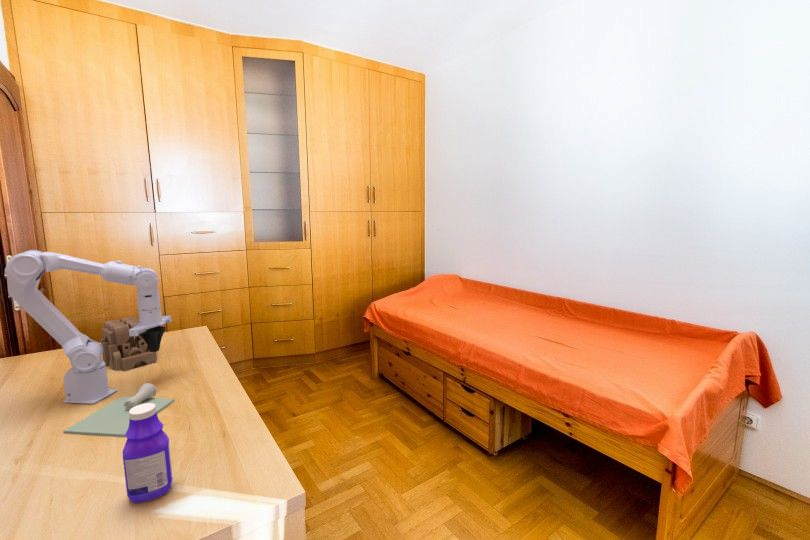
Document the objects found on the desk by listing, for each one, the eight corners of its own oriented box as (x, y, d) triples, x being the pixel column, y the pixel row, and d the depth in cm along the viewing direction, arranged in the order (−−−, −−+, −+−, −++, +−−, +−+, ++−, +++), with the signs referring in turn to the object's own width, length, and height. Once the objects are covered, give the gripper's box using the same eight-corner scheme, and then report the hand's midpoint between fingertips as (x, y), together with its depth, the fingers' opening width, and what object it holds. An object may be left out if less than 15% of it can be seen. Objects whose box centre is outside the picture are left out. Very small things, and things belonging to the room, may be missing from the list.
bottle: (174, 477, 76) (166, 396, 73) (173, 495, 71) (163, 410, 68) (130, 489, 72) (119, 405, 69) (125, 510, 67) (113, 420, 65)
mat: (63, 433, 91) (63, 430, 90) (122, 398, 107) (122, 396, 107) (124, 436, 89) (124, 434, 89) (174, 401, 106) (174, 399, 106)
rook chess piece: (157, 397, 107) (136, 414, 100) (142, 394, 107) (120, 411, 100) (157, 383, 106) (136, 400, 99) (142, 380, 106) (120, 396, 99)
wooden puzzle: (96, 358, 137) (89, 308, 134) (142, 347, 148) (137, 301, 145) (115, 374, 123) (108, 319, 120) (164, 360, 135) (159, 310, 132)
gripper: (143, 315, 106) (148, 361, 108) (178, 302, 120) (182, 343, 122) (120, 314, 106) (125, 360, 108) (158, 302, 120) (162, 342, 123)
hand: (154, 351), depth 115 cm, fingers closed
